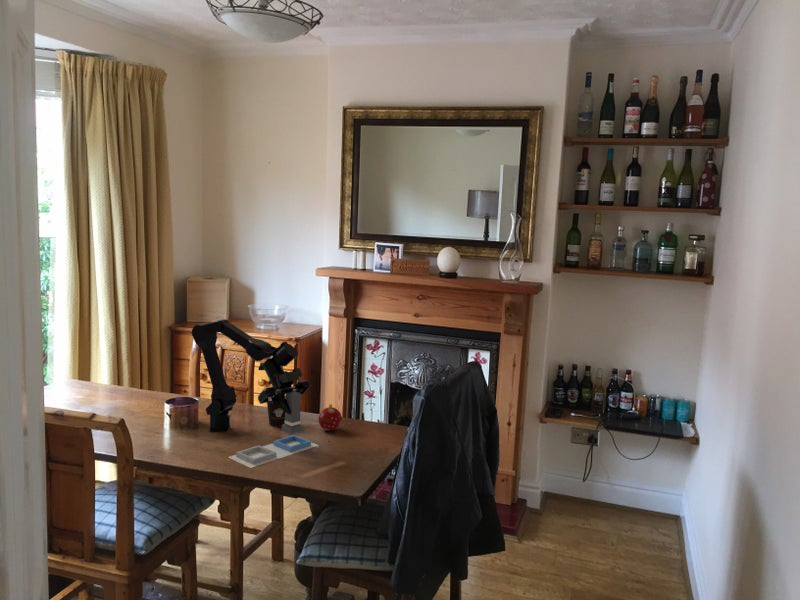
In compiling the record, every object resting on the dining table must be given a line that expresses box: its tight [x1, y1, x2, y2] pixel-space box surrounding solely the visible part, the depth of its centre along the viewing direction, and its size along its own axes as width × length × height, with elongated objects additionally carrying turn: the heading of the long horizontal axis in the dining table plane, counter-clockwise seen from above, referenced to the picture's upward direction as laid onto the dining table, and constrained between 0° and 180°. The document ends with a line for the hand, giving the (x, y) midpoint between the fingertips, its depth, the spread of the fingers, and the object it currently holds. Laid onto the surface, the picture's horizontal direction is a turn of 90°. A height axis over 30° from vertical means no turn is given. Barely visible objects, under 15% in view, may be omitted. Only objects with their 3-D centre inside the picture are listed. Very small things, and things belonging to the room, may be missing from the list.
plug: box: [281, 391, 304, 435], centre depth 211 cm, size 5×5×13 cm
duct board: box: [228, 434, 320, 469], centre depth 207 cm, size 28×12×2 cm, turn 140°
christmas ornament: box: [318, 403, 343, 432], centre depth 231 cm, size 9×9×10 cm
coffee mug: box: [266, 395, 286, 428], centre depth 236 cm, size 12×9×10 cm
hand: (295, 412), depth 210 cm, fingers closed on plug, 4 cm apart
